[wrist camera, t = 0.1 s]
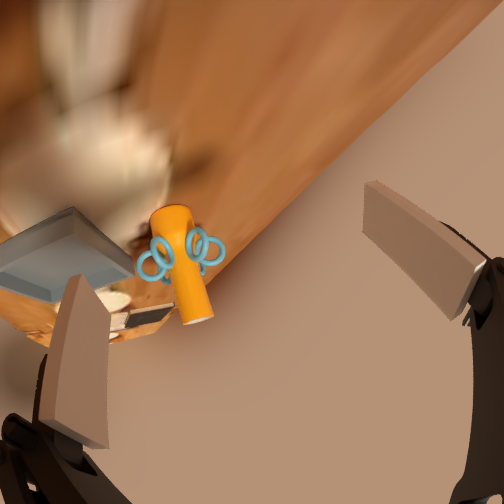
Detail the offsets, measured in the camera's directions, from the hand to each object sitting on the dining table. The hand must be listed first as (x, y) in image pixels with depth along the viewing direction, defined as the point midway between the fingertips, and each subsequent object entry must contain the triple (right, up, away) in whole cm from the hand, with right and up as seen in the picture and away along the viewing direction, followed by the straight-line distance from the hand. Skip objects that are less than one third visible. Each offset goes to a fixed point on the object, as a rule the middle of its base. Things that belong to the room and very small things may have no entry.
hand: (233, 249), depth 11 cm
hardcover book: (-38, -22, +82) cm, 93 cm away
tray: (-30, -1, +23) cm, 38 cm away
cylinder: (-11, +5, +26) cm, 28 cm away
